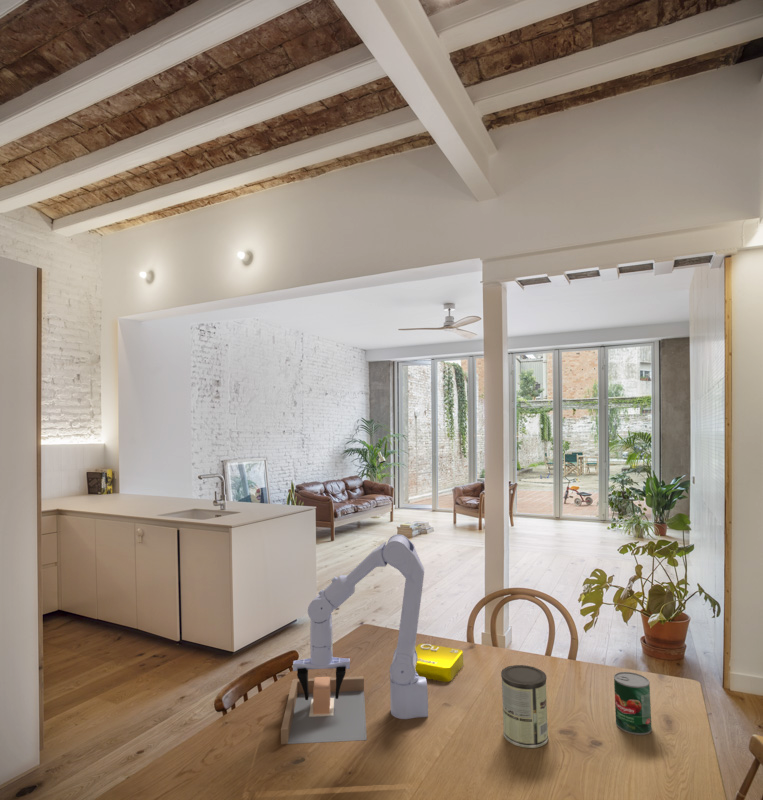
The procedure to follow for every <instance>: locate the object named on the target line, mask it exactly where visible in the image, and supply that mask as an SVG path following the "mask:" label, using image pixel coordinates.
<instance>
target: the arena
mask: <svg viewBox="0 0 763 800" xmlns="http://www.w3.org/2000/svg"><path fill="white" fill-rule="evenodd" d="M314 680H315V677H313V678H312V677H311V678H309V677H308V689H309V697H308V700H305V694H304V691H303V688H302V685H301V683H300V681H299V679H298V678H293V679H292V681H291V684H290V687H289V688H290V689H289V693H288V698H287V702H286V705H285V712H284V714H283V719H282V724H281V728H280V745H292V744H293V745H296V744H312V743H313V744H314V743H315V744H316V743H336V742H337V743H339V742H352V741H353V742H356V741H358V742H359V741H367V740H368V739H367V721H366V719H367V717H366V703H365V702H366V700H365V676H364V675H361V676H359V675H358V676H344V678H343V681H342V683H341V686H340V690H339V695H338V699H336V697H335V695H336V676H335V677H330V712H329V713H328V714H313V687H314Z"/></svg>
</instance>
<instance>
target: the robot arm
mask: <svg viewBox="0 0 763 800" xmlns="http://www.w3.org/2000/svg"><path fill="white" fill-rule="evenodd" d="M387 565H390V566H391V567H393V568H394V569H396V570H398V571H399V572H400V573H401V575H403V577H404V578H405V582H404V591H403V596H402V597H403V599H402V604H401V613H400V622H399V628H398V629H399V630H398V638H397V643H396V648H395V650H394V651H393V656H392V661H391V664H390V667H389V674H390V675H389V679H390V680H389V681H390V682H389V685H390V686H389V687H390V688H389V691H390V693H389V694H390V696H389V697H390V715H391V716H393V717H394V718H397V719H400V720H408V719H409V720H411V719H414V718H428V717H429V697H428V695H429V693H428V691H429V689H428V682H427V679H426V677H420V676H418V674H417V672H416V670H415V668H416V663H417V659H418V657H417V653H416V649H415V647H416V646H417V644H416V643H417V636H418V635H417V634H418V627H419V625H418V624H419V617H420V609H421V601H422V595H423V594H422V593H423V586H424V585H423V584H424V579H425V577H424V576H425V568H424V565H423V563H422V561H421V559H420V556H419V554H418V553H417V550H416V548H415V545H414V543H413V542H412V541H411V540H410V539H409V538H408V537H407V536H405V535H403V534H394V535H392V536H391V537H390V538H389V539H388V541H384V542H383V543H381V544H380V545H378V546H377V547H376V548H374V549H373V550H372V551H371V552H370V553H369V554H368V555H367V556H366V557H365V558H364V559H363V560H362V561H361V562H360V563H359V564H358V565H357V566H356V567H354V568H353V569H352V571H350V572H349V573H348V574H346V575H345V574H340V575H339V576H336V575H335V576H334V577H333V578H332V579H331V582H330V584H329V585H328V586H326V588H324V589H321V590H320V591H318V595H316V596H315V597H314V598H313V600H312V601H310V603H309V605H308V608H307V615H308V617H309V619H310V626H309V627H310V628H309V630H310V631H309V633H310V636H309V637H310V638H309V639H310V640H309V641H310V650H309V651H310V652H309V653H310V657H309V658H303V659H298V660H293V661H292V662H293V663H292V672H297V673H296V676H297V679H299V681H300V683H301V685H302V688H303V691H304V694H305V700H308V697H309V689H308V679H309V670H325V669H326V670H328V669H330V670H331V669H335V677H336V695H335V697H336V699H338V695H339V690H340V686H341V683H342V681H343V678H344V677H346V671H347V670H350V669H351V658H349V657H347V658H346V657H345V658H344V657H343V658H342V657H335V656H334V655H333V649H334V648H333V645H334V644H333V614H332V613H333V612H334V611H335V610H337V609H338V608H339V607H340V606H342V605H343V604H344V603H345V602H346V601H347V600H348V599H349V598H350V597H351V596H353V595H354V594H355V591H356V585H357V584H358V583H359V582H360V581H362V580H363V579H364V578H365V577H367V576H368V575H369V574H370V573H371V572H372V571H373V570H374V569H376V568H377V567H378V568H379V567H380V568H381V567H382V568H383V567H384V568H385V567H387Z"/></svg>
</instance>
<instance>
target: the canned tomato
mask: <svg viewBox="0 0 763 800" xmlns="http://www.w3.org/2000/svg"><path fill="white" fill-rule="evenodd" d="M613 682H614V683H613V685H614V686H613V687H614V689H613V690H614V706H615V707H614V708H615V711H614V712H615V725H616V727H618V728H619V729H620V730H621V731H623V732H626V733H628V734H631V735H636V736H638V735H639V736H644V735H648V734H650V733H652V730H653V729H652V709H651V707H652V705H651V689H650V688H651V687H650V682H651V681H650V679H648V677H646V676H644V675H641V674H639V673H636V672H630V671H619V672H616V673H615V674H613Z"/></svg>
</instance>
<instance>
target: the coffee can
mask: <svg viewBox="0 0 763 800" xmlns="http://www.w3.org/2000/svg"><path fill="white" fill-rule="evenodd" d="M500 674H501V675H500V676H501V689H502V690H501V691H502V718H503V719H502V720H503V737H504V738H505V740H506V741H508V742H509V744H512V745H514V746H517V747H520V748H524V749H525V748H526V749H536V748H540V747H543V746H545V745H546V744H547V743H548V741H549V729H548V727H549V725H548V708H547V707H548V705H547V704H548V701H547V700H548V699H547V698H548V697H547V675H546V673H545V672H544V671H543V670H542V669H539V668H537V667H534V666H531V665H525V664H524V665H523V664H516V665H509V666H506V667H504V668H503V669H502V670H501V671H500Z"/></svg>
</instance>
